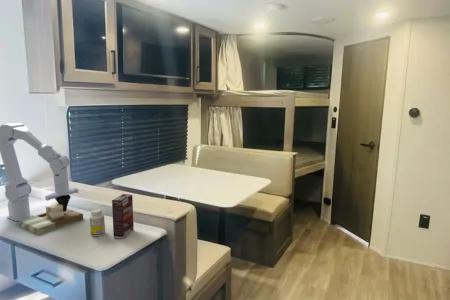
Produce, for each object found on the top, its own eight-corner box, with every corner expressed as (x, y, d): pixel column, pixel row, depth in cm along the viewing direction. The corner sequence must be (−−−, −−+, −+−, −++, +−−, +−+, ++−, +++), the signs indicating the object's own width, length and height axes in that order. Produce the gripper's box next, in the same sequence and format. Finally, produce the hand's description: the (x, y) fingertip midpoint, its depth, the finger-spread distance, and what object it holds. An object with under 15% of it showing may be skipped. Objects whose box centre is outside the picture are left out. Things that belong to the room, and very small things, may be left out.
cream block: (46, 216, 141) (45, 206, 140) (57, 213, 145) (56, 203, 144) (52, 219, 138) (51, 208, 138) (63, 215, 142) (62, 205, 142)
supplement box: (124, 239, 124) (122, 201, 122) (113, 238, 125) (110, 200, 123) (134, 230, 133) (132, 194, 130) (124, 229, 134) (122, 193, 131)
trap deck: (19, 225, 137) (19, 220, 137) (64, 212, 154) (63, 207, 153) (38, 234, 129) (37, 228, 128) (83, 219, 145) (82, 213, 144)
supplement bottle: (97, 230, 133) (96, 207, 131) (108, 232, 131) (106, 209, 129) (87, 235, 127) (85, 211, 126) (98, 238, 125) (96, 213, 124)
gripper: (49, 187, 135) (52, 217, 137) (81, 180, 147) (83, 208, 149) (41, 185, 139) (44, 214, 141) (72, 178, 150) (75, 205, 153)
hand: (63, 211), depth 145 cm, fingers closed
